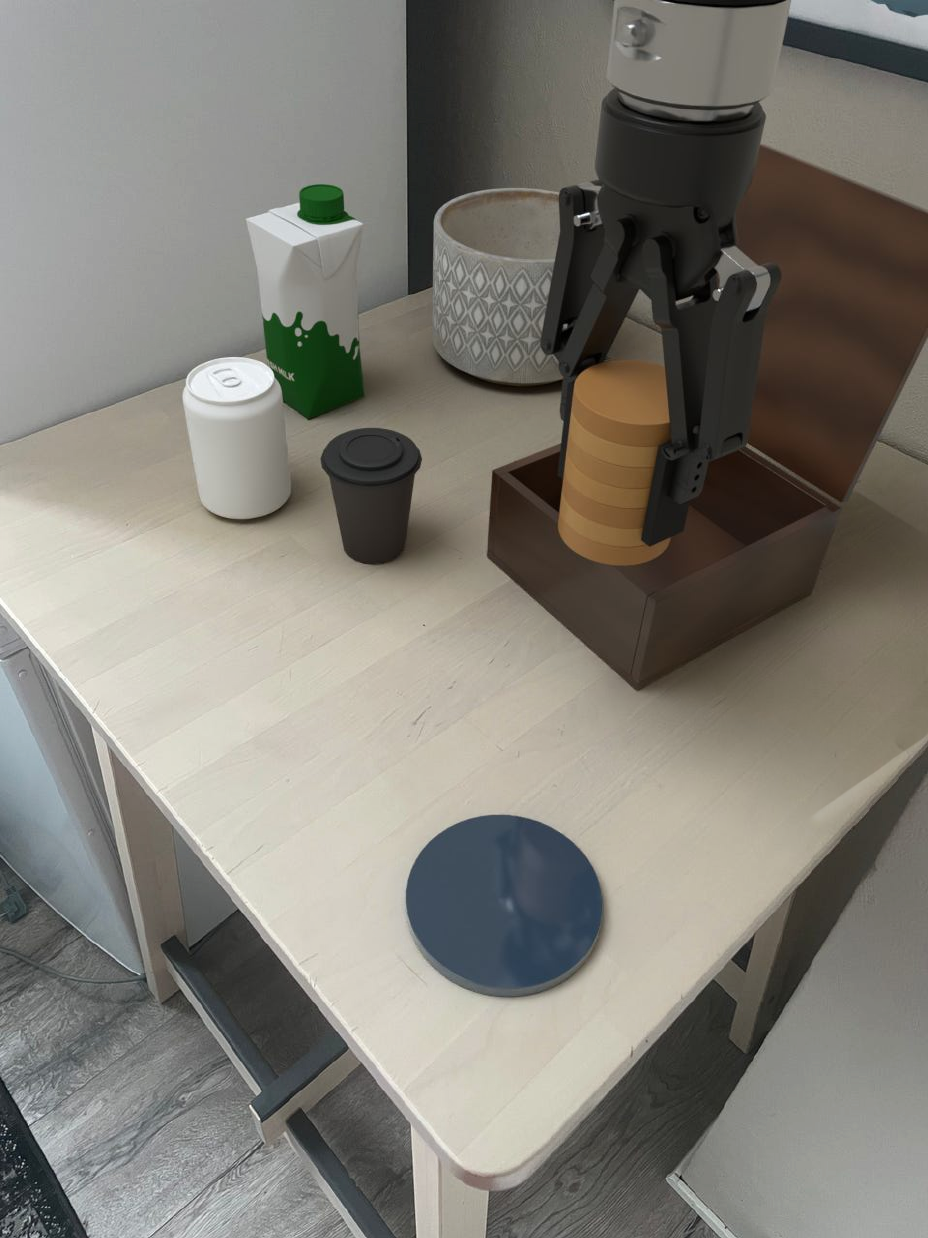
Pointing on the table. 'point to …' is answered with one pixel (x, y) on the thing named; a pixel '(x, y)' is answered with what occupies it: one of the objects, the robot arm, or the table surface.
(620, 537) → the cookies
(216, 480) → the beverage can
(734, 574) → the chest
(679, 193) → the robot arm
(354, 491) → the coffee cup
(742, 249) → the lid
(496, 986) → the plate
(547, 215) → the planter
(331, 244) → the milk carton
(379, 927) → the table surface
